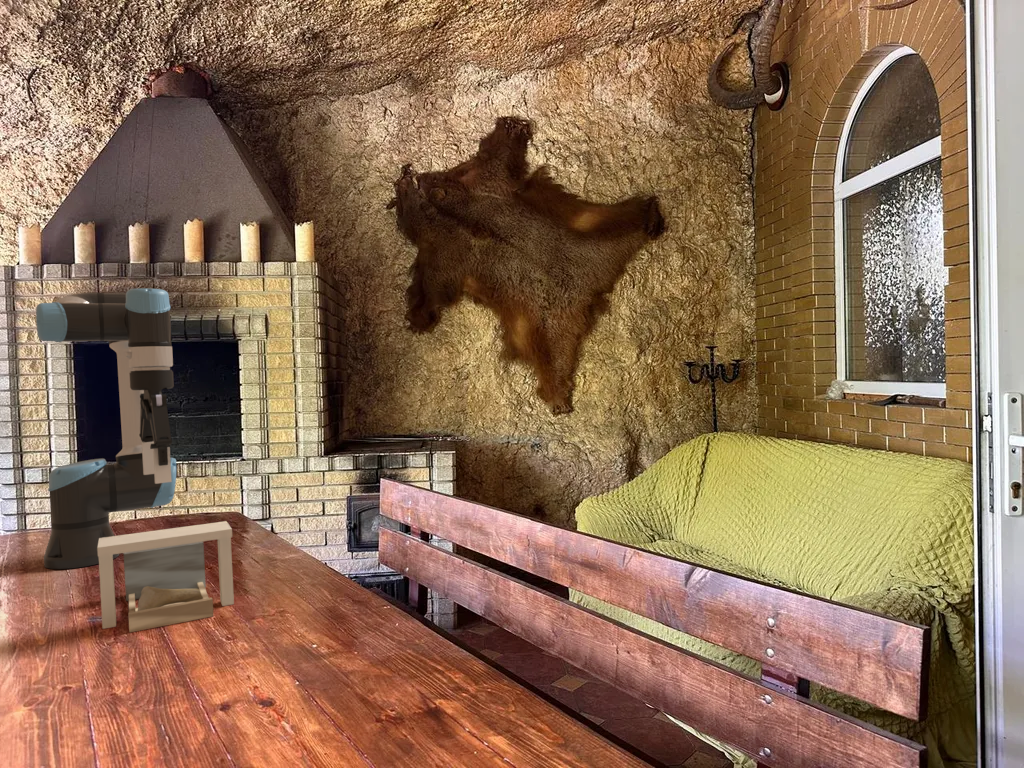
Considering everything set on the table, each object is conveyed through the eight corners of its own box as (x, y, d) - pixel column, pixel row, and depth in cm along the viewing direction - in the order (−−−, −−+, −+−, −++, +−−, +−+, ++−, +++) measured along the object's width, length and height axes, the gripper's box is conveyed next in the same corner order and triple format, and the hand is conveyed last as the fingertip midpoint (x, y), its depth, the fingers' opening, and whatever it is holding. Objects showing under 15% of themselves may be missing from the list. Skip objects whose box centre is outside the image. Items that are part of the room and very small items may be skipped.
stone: (141, 623, 119) (139, 595, 119) (125, 616, 123) (123, 589, 123) (204, 603, 128) (203, 577, 128) (187, 598, 132) (185, 573, 131)
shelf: (103, 619, 123) (99, 538, 122) (230, 596, 133) (226, 521, 132) (102, 633, 116) (97, 547, 115) (235, 607, 126) (231, 528, 125)
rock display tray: (126, 595, 136) (123, 549, 135) (203, 582, 143) (201, 538, 142) (126, 633, 115) (123, 579, 115) (216, 615, 122) (213, 565, 122)
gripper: (120, 370, 142) (126, 472, 142) (139, 369, 122) (145, 489, 122) (161, 368, 146) (166, 468, 147) (185, 368, 126) (191, 483, 127)
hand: (156, 478), depth 135 cm, fingers open, 13 cm apart
